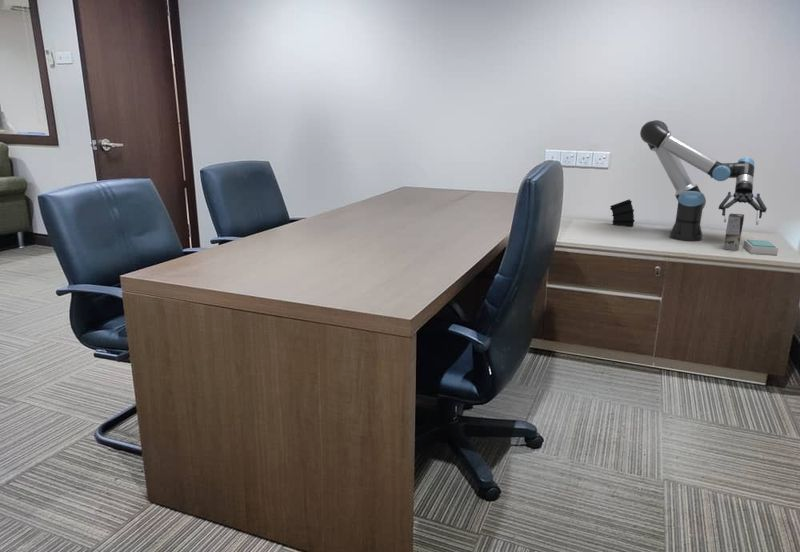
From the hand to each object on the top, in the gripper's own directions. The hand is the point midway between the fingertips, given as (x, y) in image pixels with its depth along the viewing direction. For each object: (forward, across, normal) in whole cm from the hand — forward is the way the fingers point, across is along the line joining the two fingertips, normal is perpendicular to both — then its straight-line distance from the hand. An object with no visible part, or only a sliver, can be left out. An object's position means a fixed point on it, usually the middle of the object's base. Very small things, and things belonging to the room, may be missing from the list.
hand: (741, 222), depth 286 cm
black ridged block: (-11, +56, -30) cm, 65 cm away
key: (+12, -9, -2) cm, 15 cm away
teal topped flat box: (+13, -9, -4) cm, 16 cm away
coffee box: (+12, +3, -4) cm, 14 cm away
